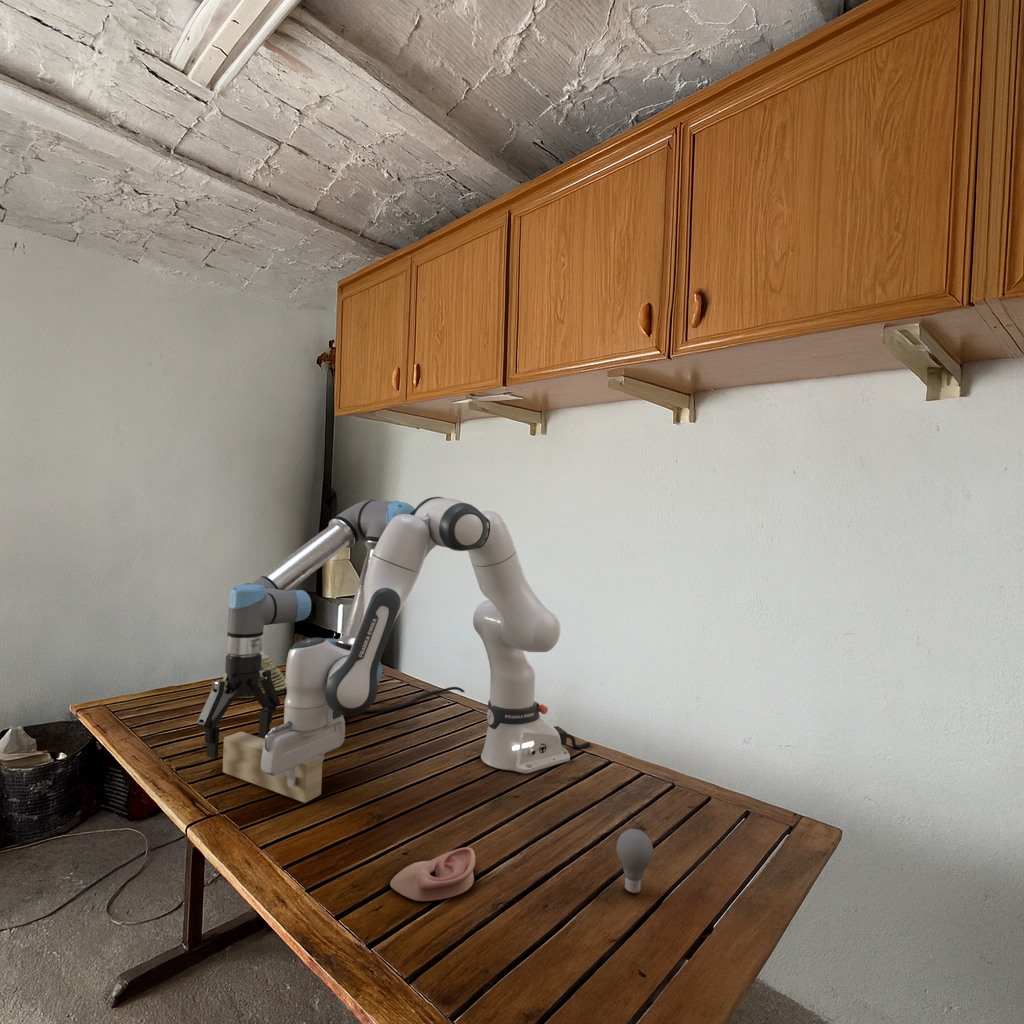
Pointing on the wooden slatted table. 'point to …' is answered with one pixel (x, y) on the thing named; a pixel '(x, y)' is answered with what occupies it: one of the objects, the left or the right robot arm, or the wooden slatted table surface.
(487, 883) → the wooden slatted table surface
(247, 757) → the ash beam
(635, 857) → the light bulb
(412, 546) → the right robot arm
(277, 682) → the fossil
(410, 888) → the anatomical model
